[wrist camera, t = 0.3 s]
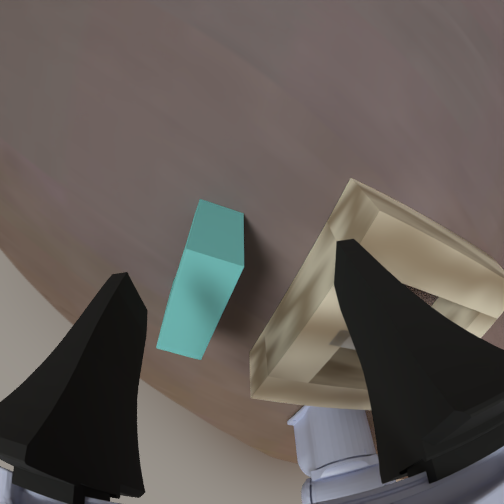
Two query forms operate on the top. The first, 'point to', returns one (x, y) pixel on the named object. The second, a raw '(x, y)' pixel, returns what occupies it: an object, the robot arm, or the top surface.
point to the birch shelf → (328, 310)
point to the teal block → (203, 280)
